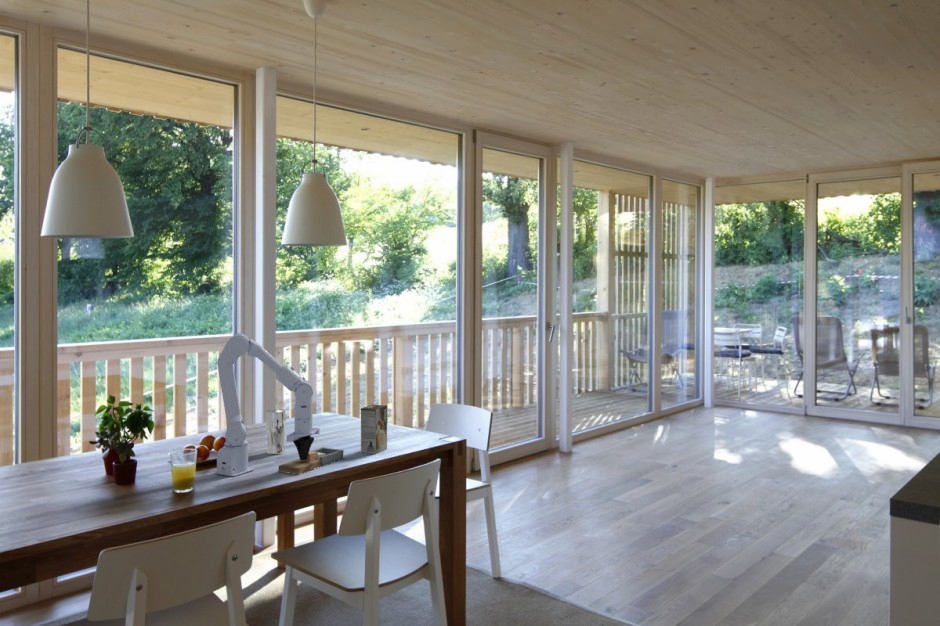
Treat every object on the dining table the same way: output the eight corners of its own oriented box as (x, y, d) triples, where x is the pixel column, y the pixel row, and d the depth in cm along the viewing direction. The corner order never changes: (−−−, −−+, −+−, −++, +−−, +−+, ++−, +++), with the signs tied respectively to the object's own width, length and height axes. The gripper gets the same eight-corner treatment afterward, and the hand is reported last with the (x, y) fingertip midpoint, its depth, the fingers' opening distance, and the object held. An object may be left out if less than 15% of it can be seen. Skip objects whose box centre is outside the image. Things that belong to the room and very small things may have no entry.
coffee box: (371, 447, 272) (371, 404, 271) (387, 448, 270) (387, 405, 269) (360, 452, 263) (360, 408, 263) (376, 454, 261) (376, 409, 260)
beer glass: (280, 455, 258) (280, 413, 257) (262, 454, 259) (262, 412, 258) (289, 451, 265) (289, 409, 264) (271, 450, 266) (271, 408, 265)
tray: (322, 466, 243) (322, 457, 243) (300, 463, 247) (300, 454, 247) (343, 458, 254) (343, 450, 254) (322, 455, 258) (322, 447, 258)
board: (298, 474, 233) (298, 468, 233) (278, 471, 236) (278, 465, 236) (321, 466, 243) (321, 460, 243) (302, 463, 247) (302, 457, 247)
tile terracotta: (310, 461, 241) (310, 454, 241) (300, 460, 243) (300, 452, 243) (317, 459, 245) (317, 451, 245) (308, 457, 246) (308, 450, 246)
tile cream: (317, 462, 245) (318, 454, 245) (308, 460, 246) (308, 453, 247) (325, 461, 248) (325, 453, 248) (315, 459, 250) (315, 452, 250)
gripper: (299, 423, 232) (299, 465, 233) (326, 415, 245) (326, 456, 246) (281, 421, 235) (281, 463, 236) (309, 413, 248) (309, 453, 249)
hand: (303, 459), depth 241 cm, fingers closed
